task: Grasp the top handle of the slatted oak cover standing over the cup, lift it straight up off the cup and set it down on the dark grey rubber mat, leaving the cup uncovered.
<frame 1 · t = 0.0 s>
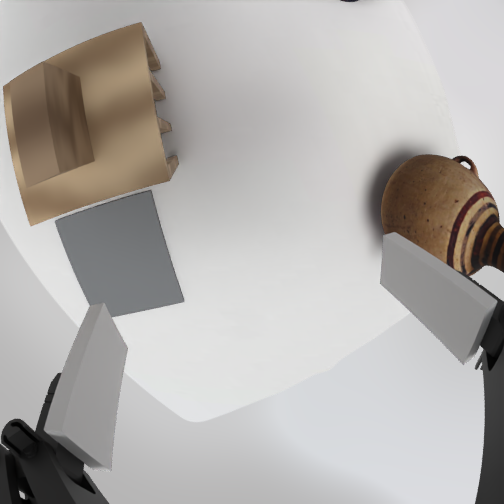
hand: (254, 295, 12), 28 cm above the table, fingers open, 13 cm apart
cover: (114, 126, 31), on the table
vase: (399, 199, 44), on the table
mat: (118, 261, 39), on the table
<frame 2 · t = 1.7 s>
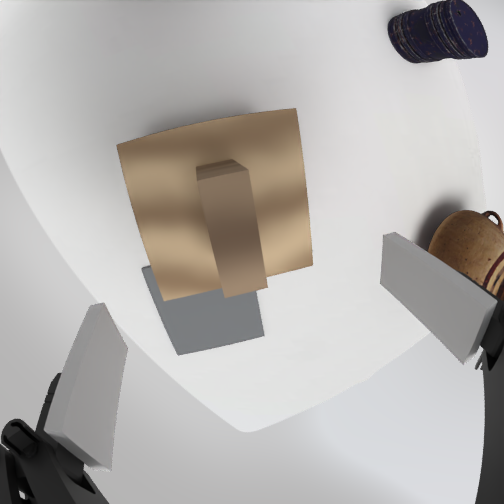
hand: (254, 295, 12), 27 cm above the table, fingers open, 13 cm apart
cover: (212, 180, 36), on the table
dark blue cylinder: (407, 39, 31), on the table
vase: (436, 240, 50), on the table
mat: (207, 305, 44), on the table
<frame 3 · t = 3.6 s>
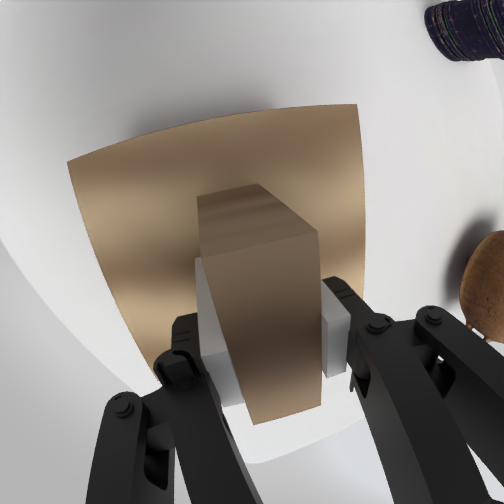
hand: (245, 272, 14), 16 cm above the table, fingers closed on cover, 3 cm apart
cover: (218, 200, 28), on the table, touching gripper
dark blue cylinder: (444, 33, 23), on the table
vase: (467, 262, 41), on the table
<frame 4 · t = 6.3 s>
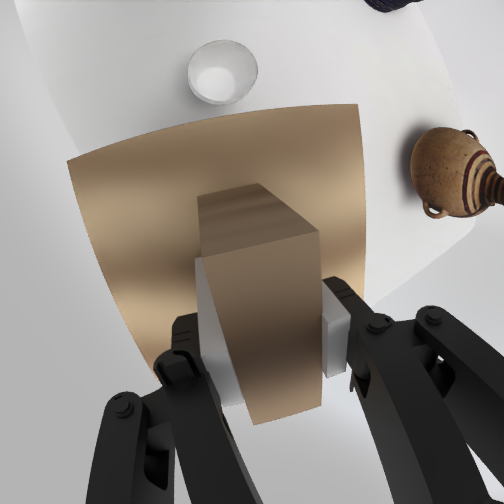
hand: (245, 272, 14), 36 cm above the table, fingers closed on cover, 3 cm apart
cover: (218, 200, 28), point 20 cm above the table, touching gripper
cup: (215, 84, 40), on the table
vase: (420, 163, 53), on the table
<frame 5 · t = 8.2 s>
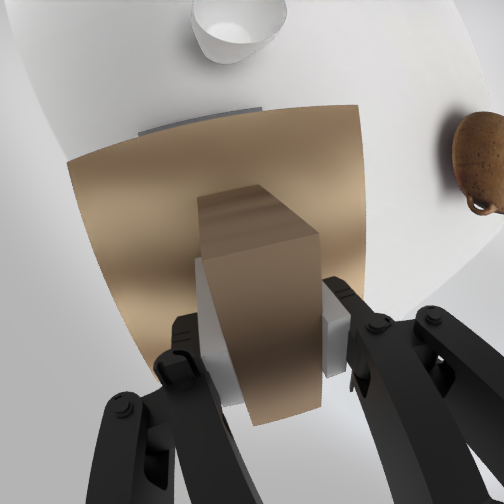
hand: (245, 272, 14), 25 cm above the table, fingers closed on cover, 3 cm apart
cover: (218, 200, 28), point 9 cm above the table, touching gripper
cup: (225, 43, 28), on the table
vase: (457, 152, 41), on the table
mat: (212, 183, 36), on the table
when the fingers open (17 cm above the table, at t = 9.5 s): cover drops 1 cm, resting on mat.
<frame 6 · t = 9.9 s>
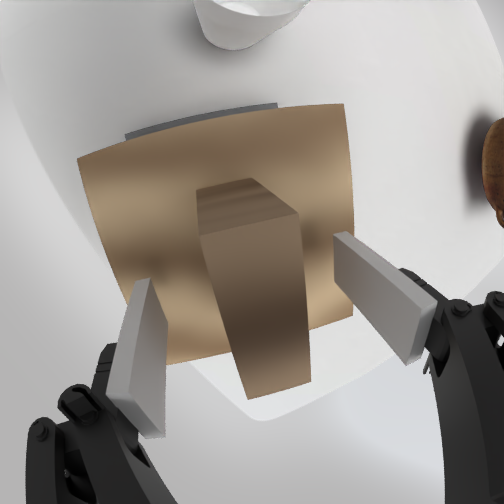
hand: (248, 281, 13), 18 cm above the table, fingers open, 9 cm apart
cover: (217, 196, 29), point 1 cm above the table, touching mat
cup: (232, 26, 22), on the table
vase: (483, 160, 35), on the table
mat: (216, 196, 30), on the table
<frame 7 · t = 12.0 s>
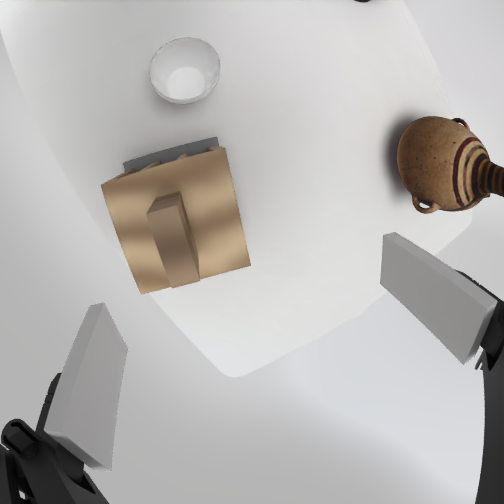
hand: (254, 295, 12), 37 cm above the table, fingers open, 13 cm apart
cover: (181, 200, 45), point 1 cm above the table, touching mat
cup: (186, 85, 38), on the table
vase: (409, 156, 51), on the table
mat: (181, 199, 46), on the table
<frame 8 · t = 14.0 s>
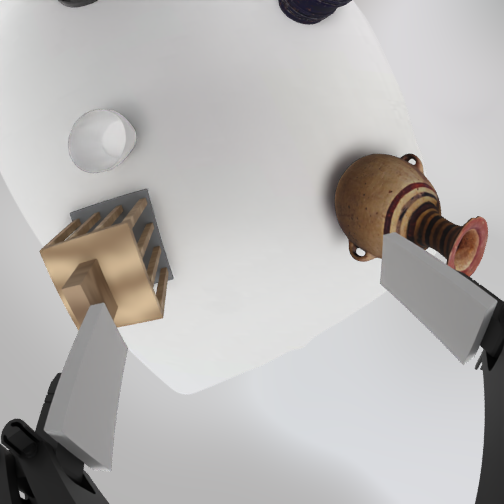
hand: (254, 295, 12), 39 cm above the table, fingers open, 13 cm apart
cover: (120, 246, 48), point 1 cm above the table, touching mat
dark blue cylinder: (302, 5, 36), on the table
cup: (118, 139, 41), on the table
vase: (357, 193, 54), on the table
mat: (120, 245, 48), on the table
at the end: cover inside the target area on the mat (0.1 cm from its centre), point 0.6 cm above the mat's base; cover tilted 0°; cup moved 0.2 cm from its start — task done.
